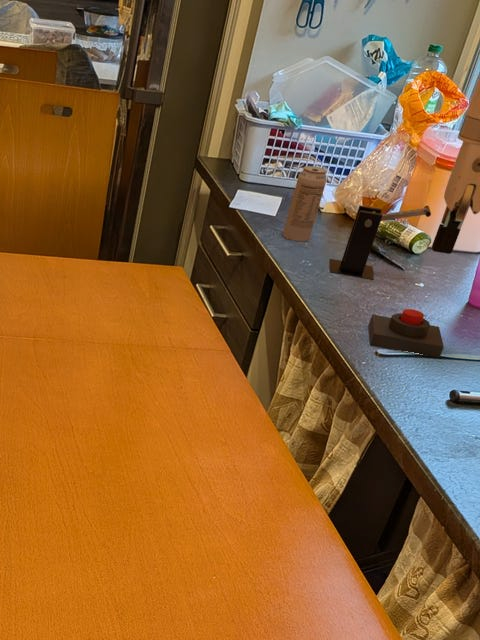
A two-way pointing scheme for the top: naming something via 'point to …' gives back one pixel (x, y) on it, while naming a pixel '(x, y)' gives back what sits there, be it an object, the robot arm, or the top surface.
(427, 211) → the lever
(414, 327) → the control block
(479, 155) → the robot arm
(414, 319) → the button
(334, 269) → the bracket
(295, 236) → the energy drink can
